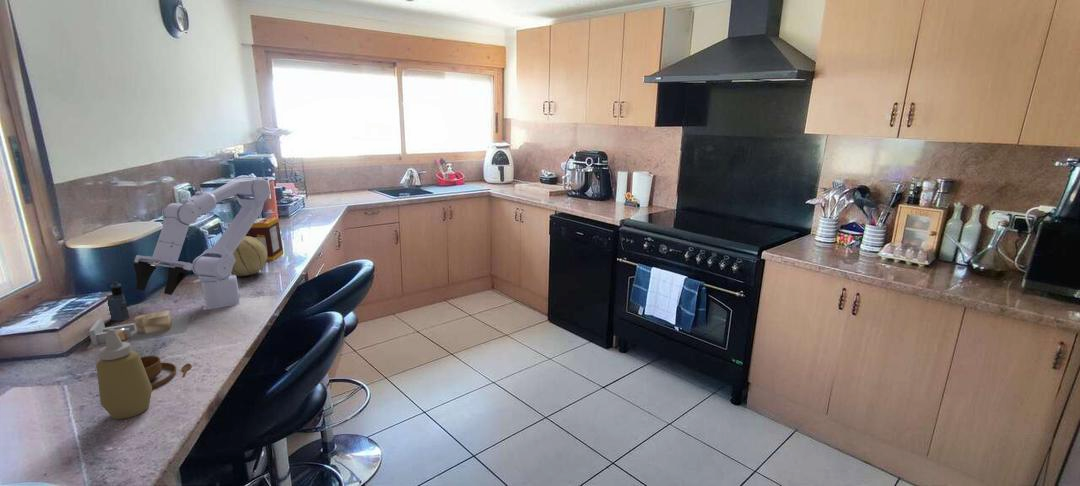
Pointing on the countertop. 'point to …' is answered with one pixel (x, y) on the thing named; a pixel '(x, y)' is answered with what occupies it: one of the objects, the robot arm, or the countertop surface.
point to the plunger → (121, 333)
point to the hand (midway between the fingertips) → (153, 292)
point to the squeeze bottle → (122, 379)
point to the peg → (153, 322)
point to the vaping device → (117, 303)
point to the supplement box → (267, 236)
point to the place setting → (159, 369)
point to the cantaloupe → (249, 257)
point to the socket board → (133, 331)
